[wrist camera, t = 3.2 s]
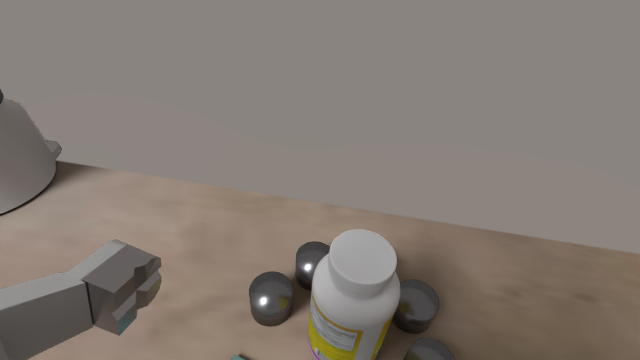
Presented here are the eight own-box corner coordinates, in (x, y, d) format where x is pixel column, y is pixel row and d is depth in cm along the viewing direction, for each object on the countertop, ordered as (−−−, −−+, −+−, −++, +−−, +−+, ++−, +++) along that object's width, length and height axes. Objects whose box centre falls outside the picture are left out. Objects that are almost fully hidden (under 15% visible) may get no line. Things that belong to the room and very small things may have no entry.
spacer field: (242, 315, 32) (240, 299, 30) (296, 233, 41) (297, 216, 39) (442, 411, 27) (454, 399, 25) (456, 296, 36) (466, 280, 34)
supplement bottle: (363, 300, 34) (388, 212, 26) (389, 367, 30) (431, 286, 21) (299, 314, 33) (305, 225, 25) (316, 387, 28) (331, 308, 20)
